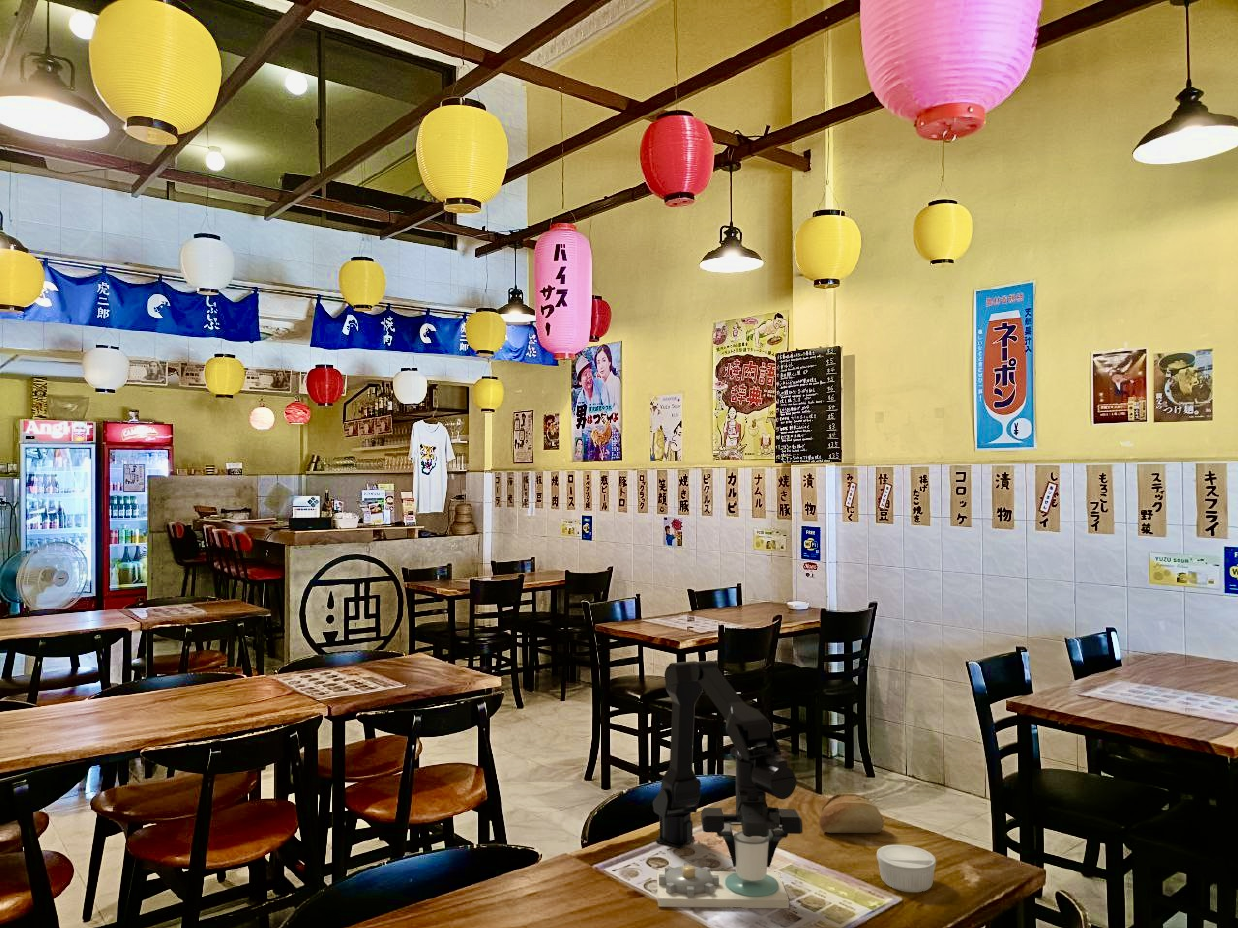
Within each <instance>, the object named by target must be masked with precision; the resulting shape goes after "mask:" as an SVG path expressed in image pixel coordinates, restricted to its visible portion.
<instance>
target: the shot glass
mask: <svg viewBox="0 0 1238 928" xmlns="http://www.w3.org/2000/svg"><path fill="white" fill-rule="evenodd" d="M733 841H734V849H735V857H736V867H735V872H736V873H737V876H739V877H740V878H742V879H745V880H750V881H757V880H762V879H764V878H765V877H766V873H767V872H768V871H767V870H768V867H767V860H768V848H769V837H768V836H767V837H761V836H752V837H746V836H744V835H743V832H742V830H741V831H738V832H737V831H736V832H735V833H733Z"/></svg>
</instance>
